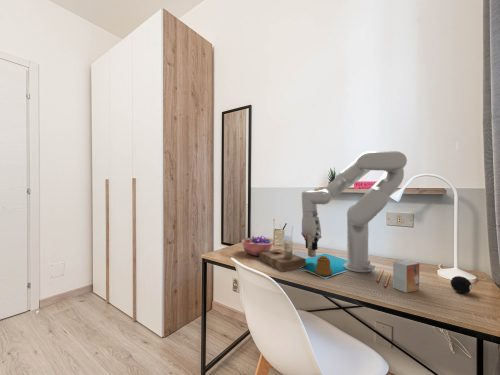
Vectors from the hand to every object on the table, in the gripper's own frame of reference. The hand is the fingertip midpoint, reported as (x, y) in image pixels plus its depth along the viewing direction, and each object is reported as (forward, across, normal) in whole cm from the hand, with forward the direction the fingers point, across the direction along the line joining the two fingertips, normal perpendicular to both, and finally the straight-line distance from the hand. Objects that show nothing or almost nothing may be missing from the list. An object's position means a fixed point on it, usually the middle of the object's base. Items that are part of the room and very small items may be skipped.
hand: (311, 248), depth 127 cm
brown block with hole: (+7, +8, +14) cm, 18 cm away
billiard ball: (+11, -54, -25) cm, 60 cm away
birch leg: (+4, 0, 0) cm, 4 cm away
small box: (+10, -42, -10) cm, 44 cm away
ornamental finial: (+8, -14, +6) cm, 17 cm away
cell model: (+6, +28, +17) cm, 34 cm away
